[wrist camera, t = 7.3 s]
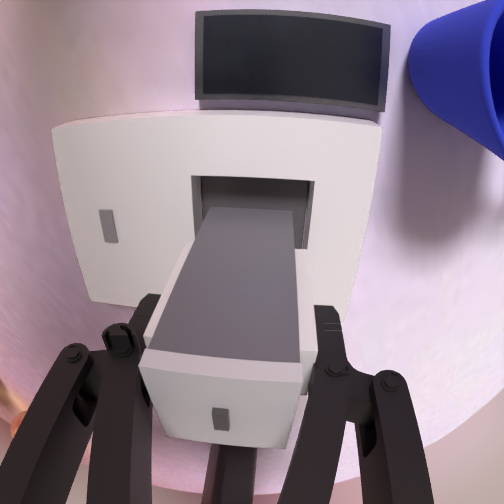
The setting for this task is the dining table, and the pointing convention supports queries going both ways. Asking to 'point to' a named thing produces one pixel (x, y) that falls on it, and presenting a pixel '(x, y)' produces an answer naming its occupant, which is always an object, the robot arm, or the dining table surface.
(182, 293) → the plug
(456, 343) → the dining table surface
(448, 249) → the dining table surface
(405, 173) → the dining table surface
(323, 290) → the cabinet panel
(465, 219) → the dining table surface
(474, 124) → the mug
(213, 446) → the wine bottle
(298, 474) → the robot arm
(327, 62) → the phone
